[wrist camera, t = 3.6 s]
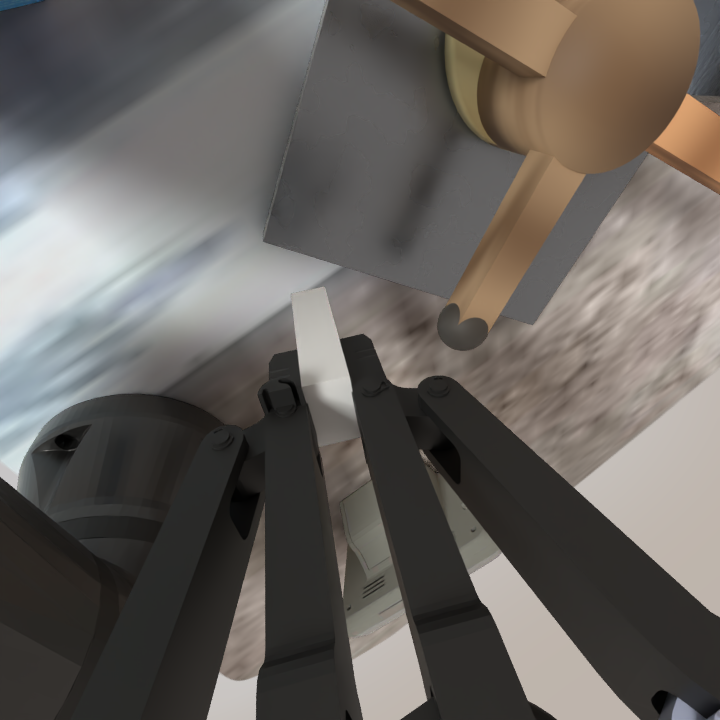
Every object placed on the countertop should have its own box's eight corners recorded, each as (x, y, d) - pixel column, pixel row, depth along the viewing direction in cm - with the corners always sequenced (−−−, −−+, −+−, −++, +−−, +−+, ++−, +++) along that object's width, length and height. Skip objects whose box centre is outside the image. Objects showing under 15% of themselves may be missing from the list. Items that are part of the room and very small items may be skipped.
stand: (530, 317, 32) (573, 357, 27) (263, 233, 24) (263, 268, 20) (800, -92, 20) (949, -138, 16) (457, -488, 13) (558, -781, 8)
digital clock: (349, 544, 45) (370, 655, 36) (303, 506, 40) (315, 626, 31) (482, 477, 43) (538, 578, 34) (452, 427, 37) (509, 532, 29)
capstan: (556, 337, 31) (626, 401, 25) (219, 235, 22) (203, 295, 16) (864, -94, 19) (1135, -169, 13) (416, -674, 10) (622, -1678, 4)
